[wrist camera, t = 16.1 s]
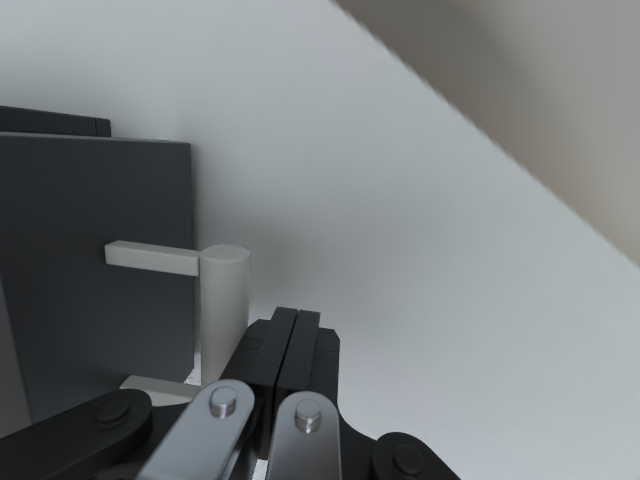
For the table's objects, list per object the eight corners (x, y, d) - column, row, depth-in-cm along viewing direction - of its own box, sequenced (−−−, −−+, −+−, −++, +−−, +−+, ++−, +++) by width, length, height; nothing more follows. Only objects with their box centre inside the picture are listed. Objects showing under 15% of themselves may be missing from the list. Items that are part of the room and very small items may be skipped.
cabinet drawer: (289, 154, 12) (201, 160, 5) (272, 379, 16) (204, 583, 8) (-102, 109, 14) (-655, 60, 6) (-40, 330, 17) (-349, 473, 9)
